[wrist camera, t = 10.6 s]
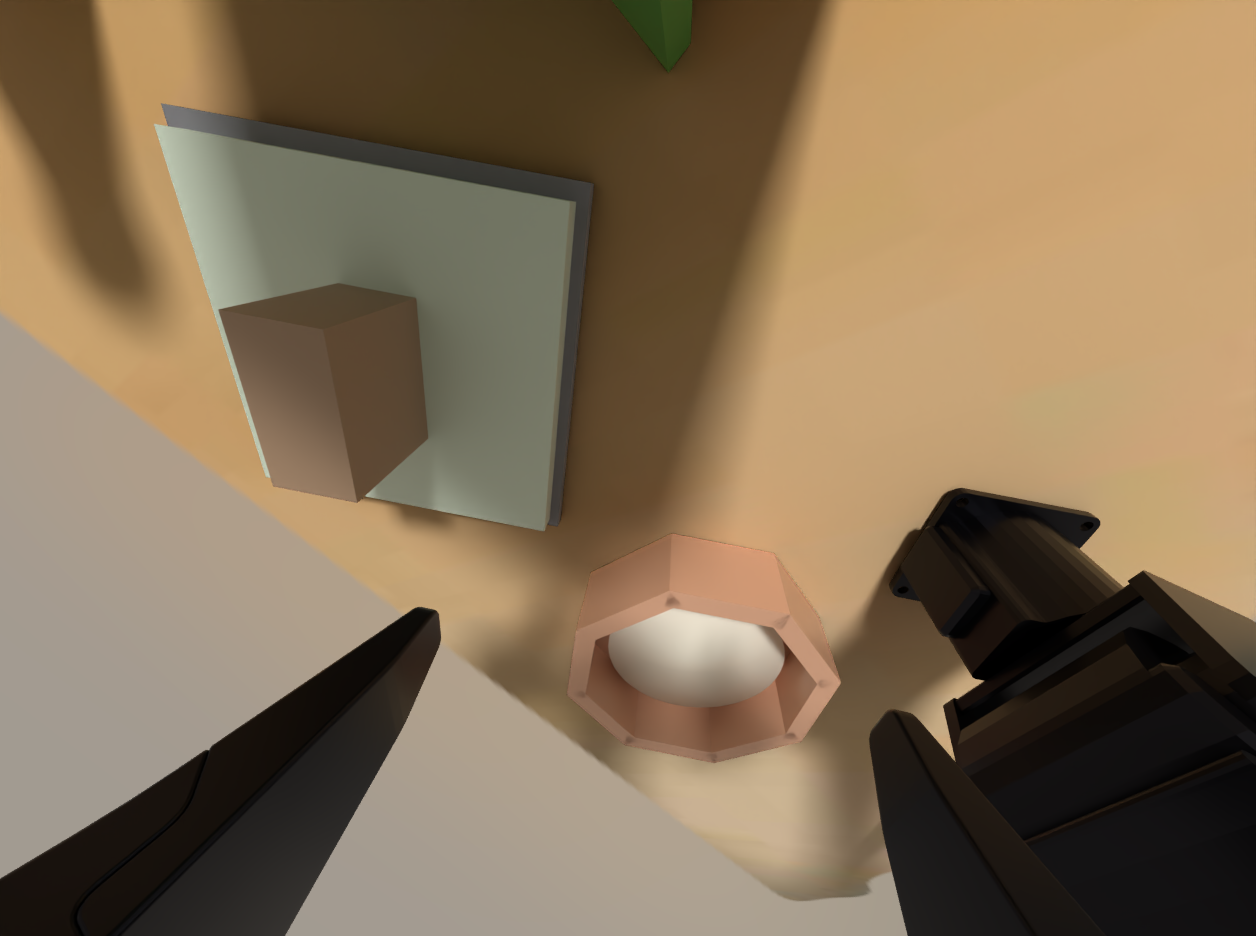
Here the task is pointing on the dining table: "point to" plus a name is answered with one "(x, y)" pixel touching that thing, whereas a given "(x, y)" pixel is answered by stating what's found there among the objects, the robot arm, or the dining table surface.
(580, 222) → the mat
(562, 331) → the lid
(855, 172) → the dining table surface
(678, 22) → the hardback book
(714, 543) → the bowl
